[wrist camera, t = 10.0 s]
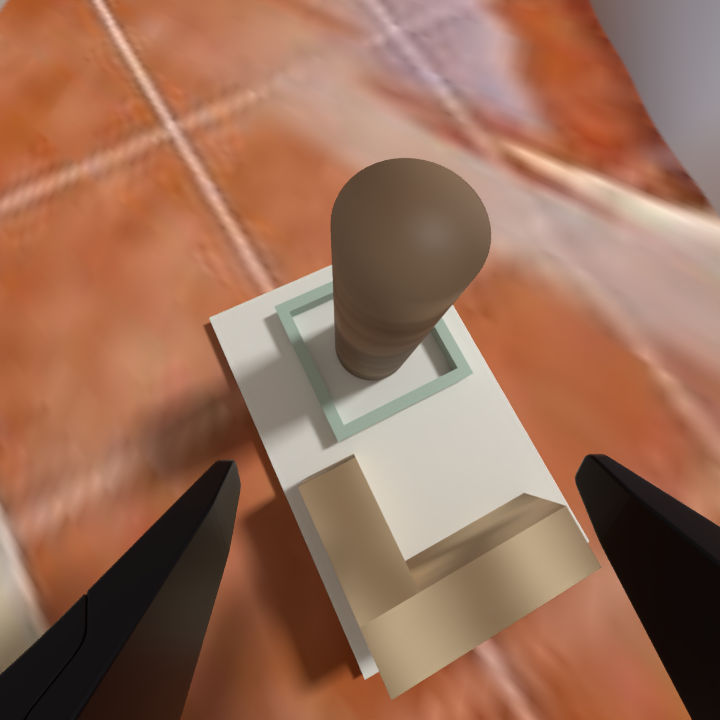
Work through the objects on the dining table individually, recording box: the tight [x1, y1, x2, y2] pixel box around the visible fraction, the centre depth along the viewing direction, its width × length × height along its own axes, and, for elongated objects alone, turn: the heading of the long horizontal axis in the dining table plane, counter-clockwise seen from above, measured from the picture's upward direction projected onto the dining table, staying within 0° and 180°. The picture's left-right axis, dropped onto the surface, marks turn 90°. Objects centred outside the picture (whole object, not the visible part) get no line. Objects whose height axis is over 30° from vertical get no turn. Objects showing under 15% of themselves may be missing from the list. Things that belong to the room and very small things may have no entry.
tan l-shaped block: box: [298, 454, 602, 700], centre depth 18 cm, size 11×10×4 cm
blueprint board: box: [209, 265, 589, 680], centre depth 21 cm, size 14×22×2 cm, turn 26°
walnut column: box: [331, 158, 491, 380], centre depth 16 cm, size 5×5×12 cm
